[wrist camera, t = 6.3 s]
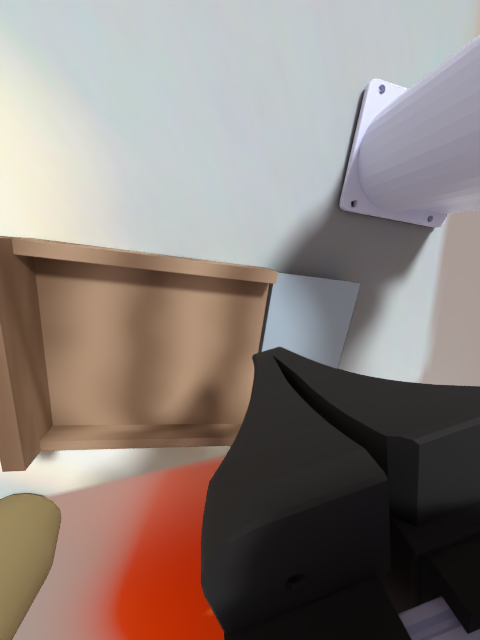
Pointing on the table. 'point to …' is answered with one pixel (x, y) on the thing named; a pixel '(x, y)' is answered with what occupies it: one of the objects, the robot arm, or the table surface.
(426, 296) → the table surface
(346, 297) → the panel
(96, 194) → the table surface
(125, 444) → the tray
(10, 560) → the squeeze bottle
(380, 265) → the table surface
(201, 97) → the table surface
